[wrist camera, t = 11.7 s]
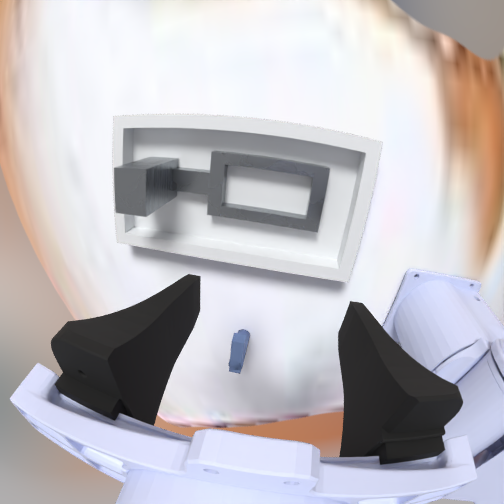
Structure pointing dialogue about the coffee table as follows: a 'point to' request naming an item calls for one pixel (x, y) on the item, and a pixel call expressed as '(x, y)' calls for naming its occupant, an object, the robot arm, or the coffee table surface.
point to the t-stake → (238, 350)
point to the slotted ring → (214, 187)
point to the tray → (252, 191)
